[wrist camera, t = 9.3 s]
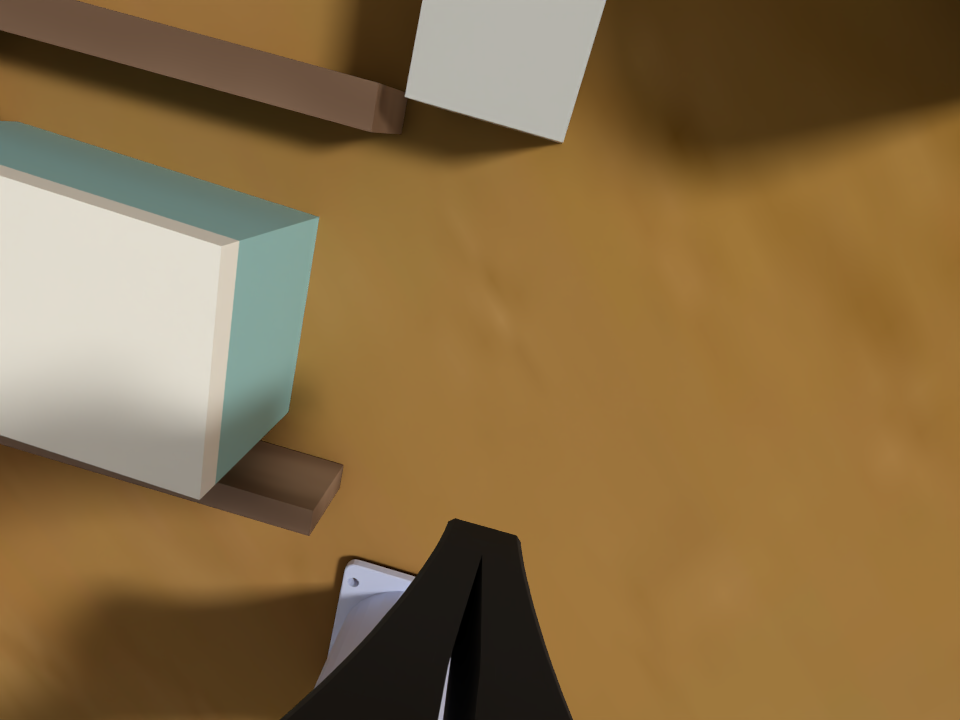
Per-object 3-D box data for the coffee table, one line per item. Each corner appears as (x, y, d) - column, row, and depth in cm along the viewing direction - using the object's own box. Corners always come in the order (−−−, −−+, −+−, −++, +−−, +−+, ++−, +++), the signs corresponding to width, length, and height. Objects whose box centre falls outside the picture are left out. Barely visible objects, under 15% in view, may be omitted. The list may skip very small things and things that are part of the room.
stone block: (561, 143, 16) (562, 142, 13) (438, 108, 17) (404, 96, 13) (606, -6, 15) (622, -55, 11) (470, -43, 15) (442, -106, 11)
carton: (290, 409, 22) (199, 500, 16) (36, 327, 22) (-141, 389, 16) (321, 216, 18) (221, 246, 13) (24, 121, 19) (-200, 112, 13)
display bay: (339, 488, 22) (309, 535, 20) (3, 388, 23) (-73, 422, 20) (408, 93, 16) (378, 83, 14) (-51, -32, 17) (-171, -67, 14)
